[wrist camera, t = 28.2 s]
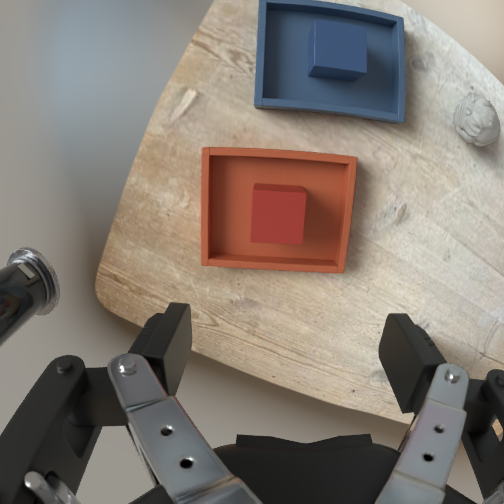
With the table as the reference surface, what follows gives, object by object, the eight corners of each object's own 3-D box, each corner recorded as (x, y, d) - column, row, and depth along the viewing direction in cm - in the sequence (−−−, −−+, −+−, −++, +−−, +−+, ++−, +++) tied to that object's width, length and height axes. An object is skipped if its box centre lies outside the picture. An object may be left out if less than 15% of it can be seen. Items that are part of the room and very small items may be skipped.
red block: (252, 228, 35) (249, 242, 30) (254, 183, 34) (252, 189, 29) (298, 231, 35) (302, 245, 30) (301, 185, 33) (307, 193, 29)
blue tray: (255, 108, 32) (254, 105, 29) (259, 6, 27) (259, -4, 25) (394, 123, 31) (404, 122, 28) (394, 24, 27) (403, 17, 24)
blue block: (307, 76, 29) (313, 65, 25) (308, 34, 28) (314, 18, 23) (353, 82, 29) (367, 73, 24) (353, 41, 28) (366, 27, 23)
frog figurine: (446, 84, 29) (478, 77, 22) (485, 115, 29) (519, 115, 23) (431, 126, 31) (462, 125, 24) (472, 155, 31) (505, 160, 25)
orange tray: (205, 256, 37) (201, 265, 35) (207, 146, 33) (201, 147, 31) (338, 264, 37) (343, 273, 34) (350, 156, 33) (357, 157, 30)
